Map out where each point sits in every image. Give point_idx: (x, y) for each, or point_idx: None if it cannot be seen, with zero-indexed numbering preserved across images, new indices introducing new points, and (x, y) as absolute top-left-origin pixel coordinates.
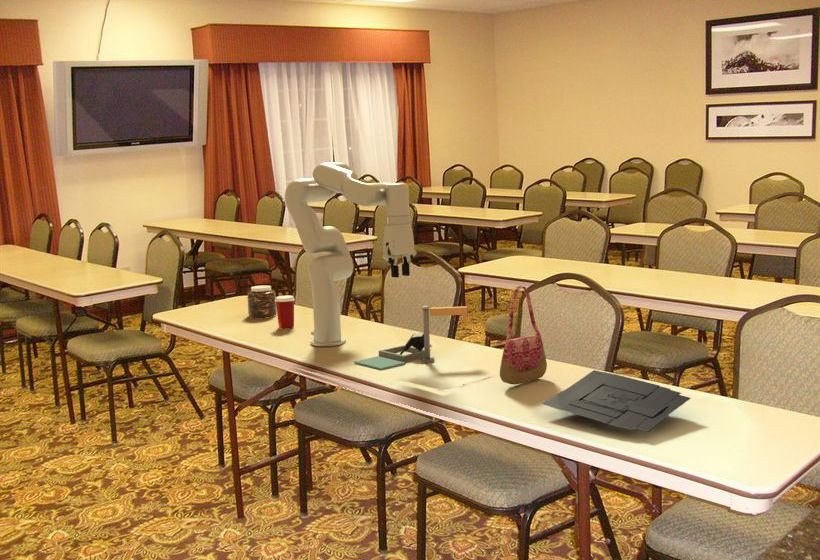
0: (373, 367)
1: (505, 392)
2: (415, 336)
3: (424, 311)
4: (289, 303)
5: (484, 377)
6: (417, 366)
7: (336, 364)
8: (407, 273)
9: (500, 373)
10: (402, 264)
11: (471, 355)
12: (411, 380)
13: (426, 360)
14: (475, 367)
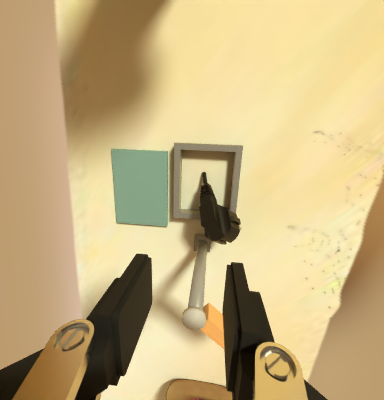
0: (116, 203)
1: (153, 390)
2: (206, 228)
3: None
4: None
5: (186, 348)
6: (171, 248)
7: (86, 127)
8: (223, 320)
9: (166, 394)
10: (233, 335)
11: (282, 268)
12: None
13: (194, 249)
14: None
